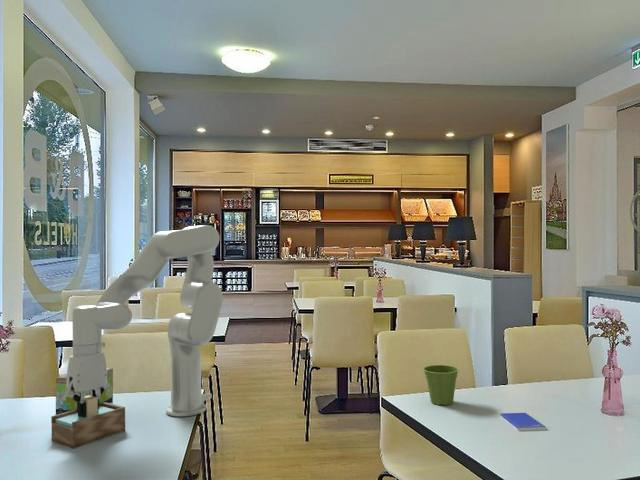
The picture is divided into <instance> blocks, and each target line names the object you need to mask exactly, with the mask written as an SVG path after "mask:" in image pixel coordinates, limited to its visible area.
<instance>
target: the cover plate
mask: <svg viewBox="0 0 640 480" xmlns="http://www.w3.org/2000/svg"><path fill="white" fill-rule="evenodd" d="M84 402H85V403H86V417H80V416H78V414H77V413H75V414H72V415H68V416H65V417H61V418H58V419H56V423H58V424H61V425H65V426H68V427H71V428H72V422H76V421H79V420H82V419H85V418H89V417H92V416H95V415H99V414H102V413H105V412H109V411H112V410H115V409H111V408H107V407H103V406H99V409H98V398H97V397H93V396H89V395H88V396H85V401H84Z"/></svg>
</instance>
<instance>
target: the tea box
mask: <svg viewBox="0 0 640 480" xmlns="http://www.w3.org/2000/svg"><path fill="white" fill-rule="evenodd" d="M106 368H107V380H108V382H109V384H110V386H109V387H108V388H107V389H105V390H104V392H103V393H102V395H101V398H100V399H99V403H101V402H107V403H111V404H114V401H113V400H114V369H113V368H114V367H113V368H112V367H106ZM55 379H56V380H55V415H58V414H62V413H65V412H69V411H72V410H76V409H77V402H75V400H73V399H72V398H69V397H66V396H65V393H66V390H67V386H66V383H67V373H66V374H63V375H60V376H57V377H56V378H55ZM73 394H75V391H73ZM88 395H89V396H91V390H89V391H85V396H88Z"/></svg>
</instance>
